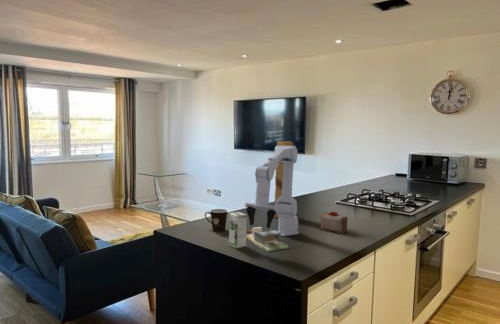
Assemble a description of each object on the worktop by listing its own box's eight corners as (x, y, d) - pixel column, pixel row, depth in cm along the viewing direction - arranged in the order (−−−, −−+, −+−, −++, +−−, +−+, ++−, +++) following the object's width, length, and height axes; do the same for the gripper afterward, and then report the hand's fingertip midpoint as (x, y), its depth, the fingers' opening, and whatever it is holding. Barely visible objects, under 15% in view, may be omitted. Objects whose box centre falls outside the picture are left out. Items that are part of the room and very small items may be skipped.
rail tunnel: (257, 231, 181) (257, 220, 181) (288, 247, 158) (289, 235, 157) (237, 234, 176) (237, 223, 176) (267, 251, 152) (267, 238, 152)
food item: (317, 229, 189) (318, 210, 188) (325, 226, 195) (326, 208, 194) (341, 234, 180) (342, 215, 179) (348, 231, 186) (349, 212, 185)
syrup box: (228, 245, 160) (228, 213, 158) (239, 242, 163) (240, 211, 162) (235, 248, 155) (235, 215, 154) (246, 246, 158) (247, 214, 157)
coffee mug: (230, 230, 183) (231, 211, 182) (217, 233, 177) (217, 213, 176) (216, 225, 191) (216, 207, 190) (203, 228, 185) (203, 209, 184)
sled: (260, 234, 172) (260, 226, 172) (274, 241, 162) (274, 233, 162) (251, 236, 170) (251, 227, 170) (264, 243, 160) (265, 234, 159)
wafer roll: (286, 214, 220) (289, 140, 216) (294, 218, 210) (296, 141, 206) (271, 215, 217) (272, 140, 213) (277, 219, 207) (279, 141, 203)
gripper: (243, 192, 152) (240, 224, 152) (275, 196, 146) (272, 229, 145) (250, 192, 158) (247, 223, 158) (281, 195, 152) (278, 228, 152)
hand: (259, 226), depth 152 cm, fingers open, 7 cm apart
